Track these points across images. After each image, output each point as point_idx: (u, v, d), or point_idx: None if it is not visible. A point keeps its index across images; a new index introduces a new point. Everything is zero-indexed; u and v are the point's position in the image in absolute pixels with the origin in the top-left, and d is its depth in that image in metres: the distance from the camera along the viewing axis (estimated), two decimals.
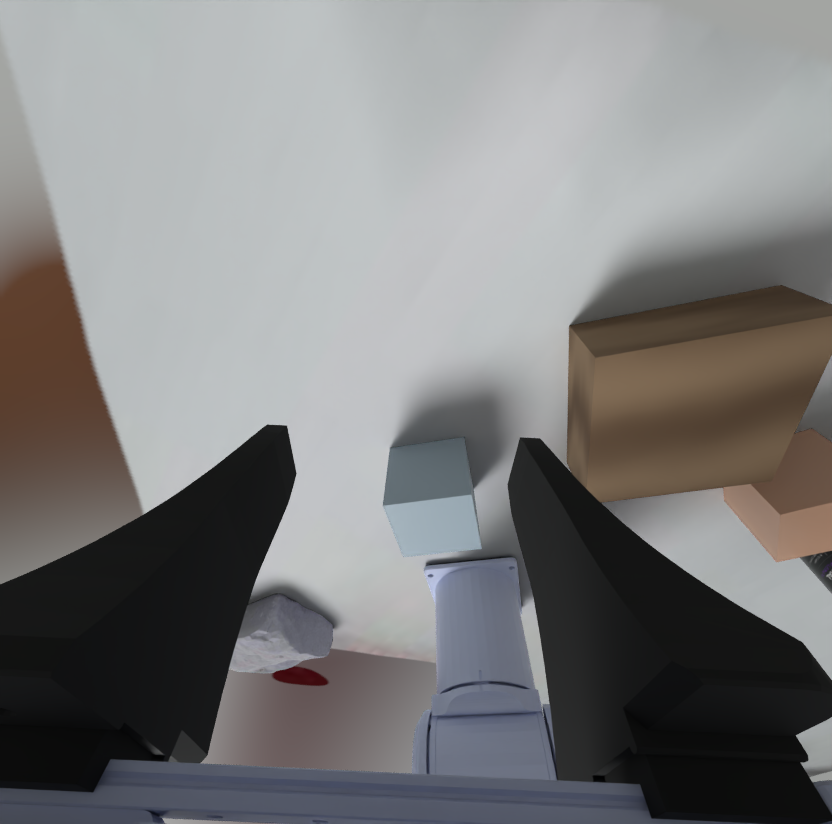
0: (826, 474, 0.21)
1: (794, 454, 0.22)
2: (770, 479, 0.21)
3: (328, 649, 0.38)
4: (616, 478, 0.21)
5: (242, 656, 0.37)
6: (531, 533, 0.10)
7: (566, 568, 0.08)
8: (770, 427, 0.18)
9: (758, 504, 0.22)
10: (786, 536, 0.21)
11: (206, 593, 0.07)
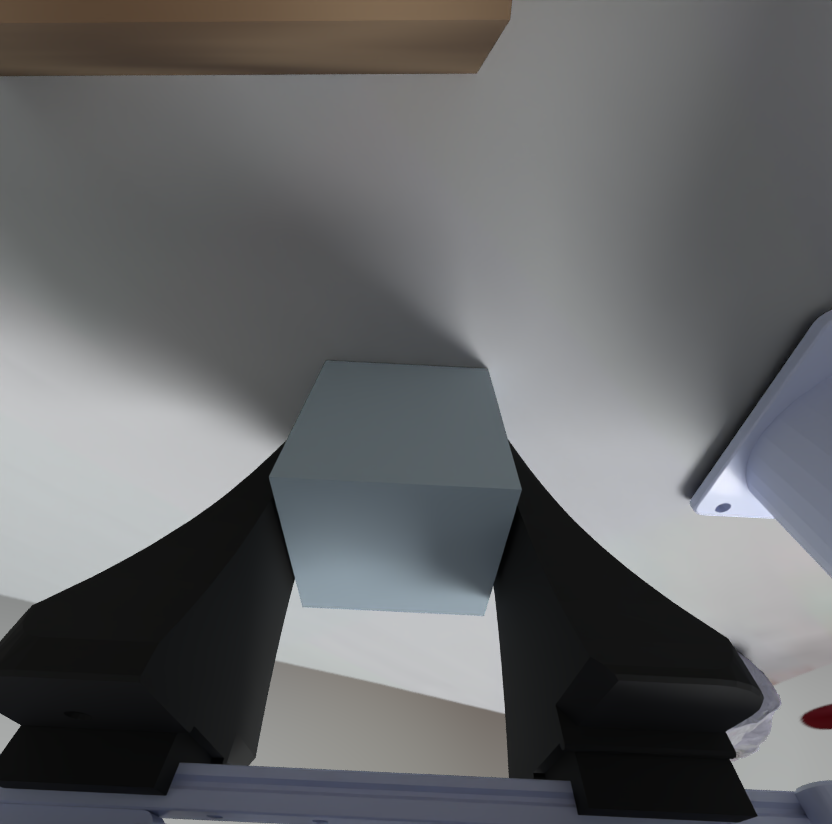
0: None
1: None
2: None
3: (768, 694, 0.20)
4: None
5: None
6: None
7: (518, 566, 0.08)
8: None
9: None
10: None
11: (257, 595, 0.07)
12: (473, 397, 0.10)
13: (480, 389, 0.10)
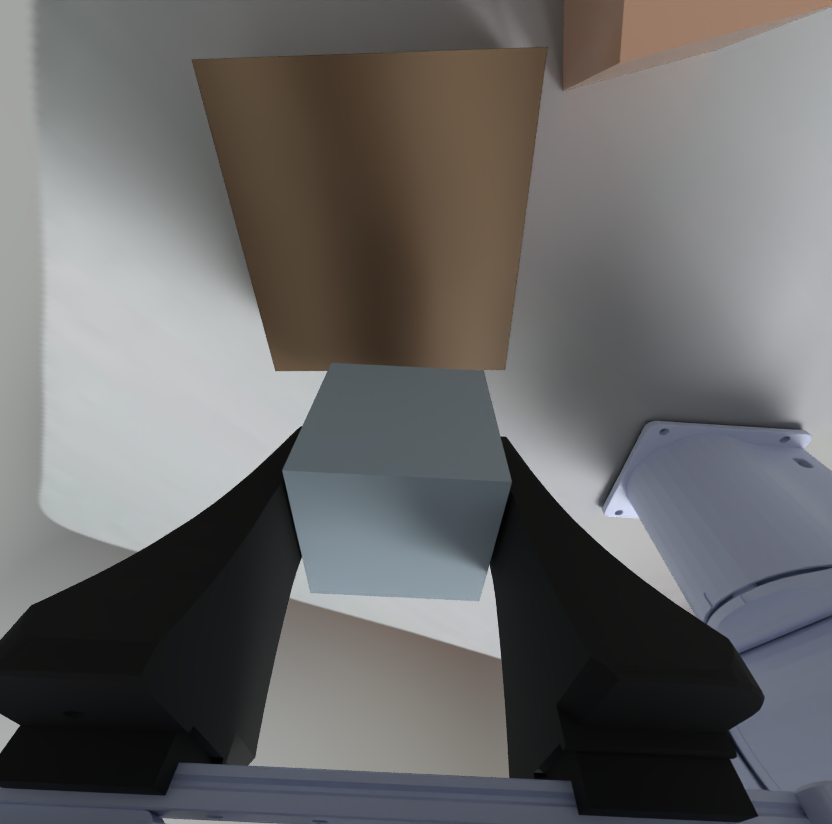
0: None
1: None
2: (540, 52, 0.10)
3: None
4: (461, 335, 0.15)
5: None
6: None
7: (518, 566, 0.08)
8: (398, 110, 0.11)
9: (638, 63, 0.10)
10: (725, 13, 0.09)
11: (256, 595, 0.07)
12: (469, 397, 0.11)
13: (476, 390, 0.11)
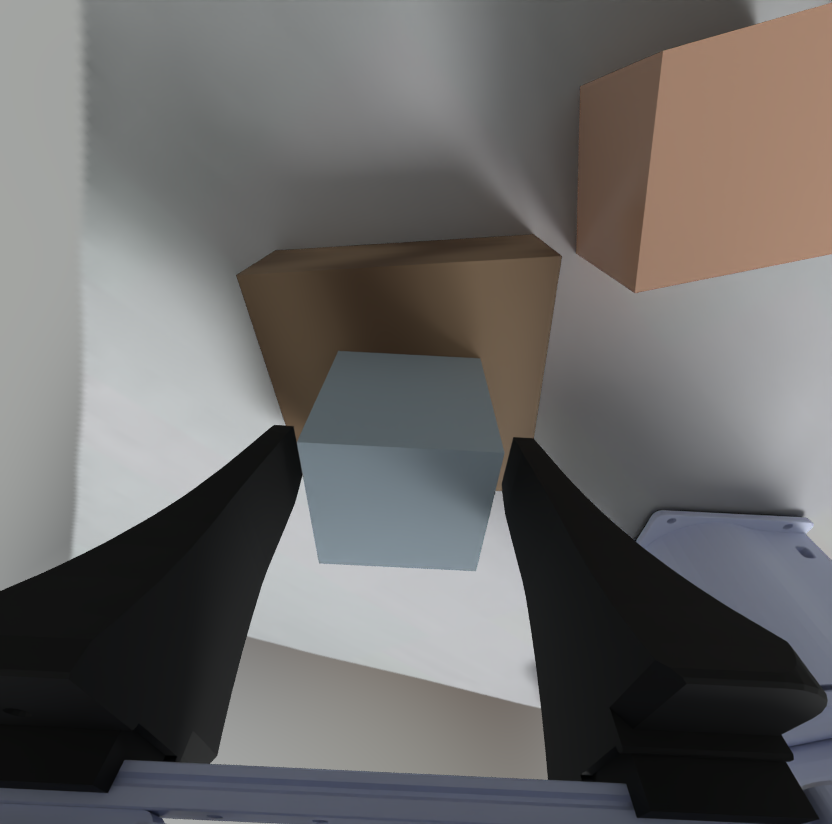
0: (620, 151, 0.10)
1: (594, 160, 0.11)
2: (554, 260, 0.11)
3: None
4: None
5: None
6: (524, 532, 0.10)
7: (556, 568, 0.08)
8: (424, 305, 0.12)
9: None
10: (731, 259, 0.10)
11: (216, 594, 0.07)
12: (466, 381, 0.12)
13: (473, 375, 0.12)
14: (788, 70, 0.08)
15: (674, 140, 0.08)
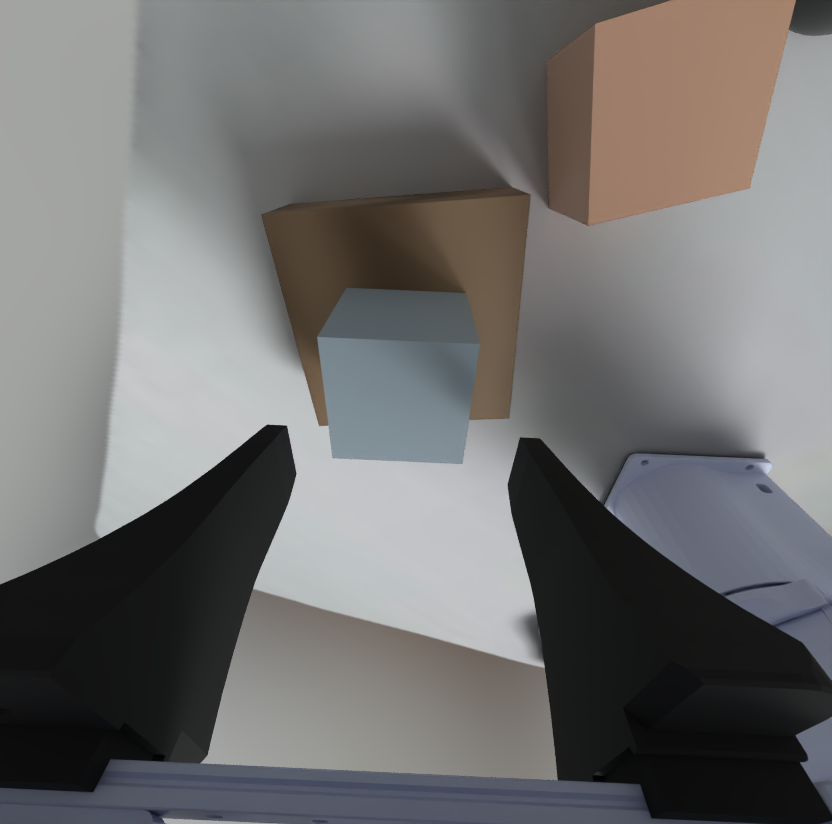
0: (574, 109, 0.12)
1: (558, 122, 0.14)
2: (525, 198, 0.13)
3: None
4: None
5: None
6: (531, 533, 0.10)
7: (566, 568, 0.08)
8: (417, 240, 0.14)
9: None
10: (663, 195, 0.12)
11: (206, 593, 0.07)
12: (453, 306, 0.14)
13: (459, 302, 0.14)
14: (691, 38, 0.10)
15: (609, 95, 0.11)
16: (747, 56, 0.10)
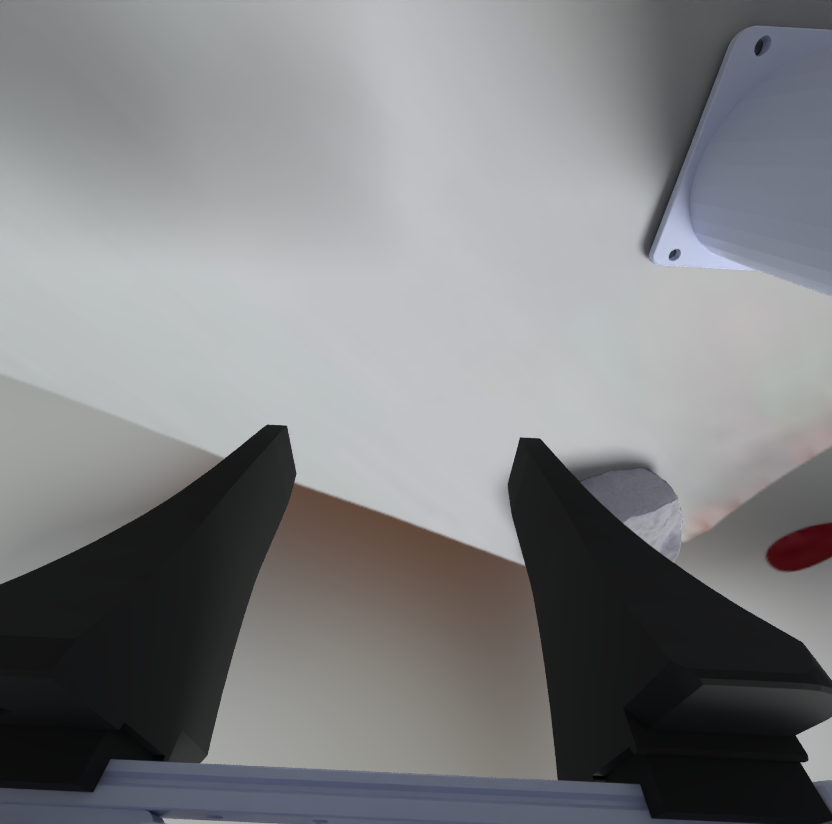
0: None
1: None
2: None
3: (667, 493, 0.24)
4: None
5: None
6: (531, 533, 0.10)
7: (566, 568, 0.08)
8: None
9: None
10: None
11: (206, 593, 0.07)
12: None
13: None
14: None
15: None
16: None
